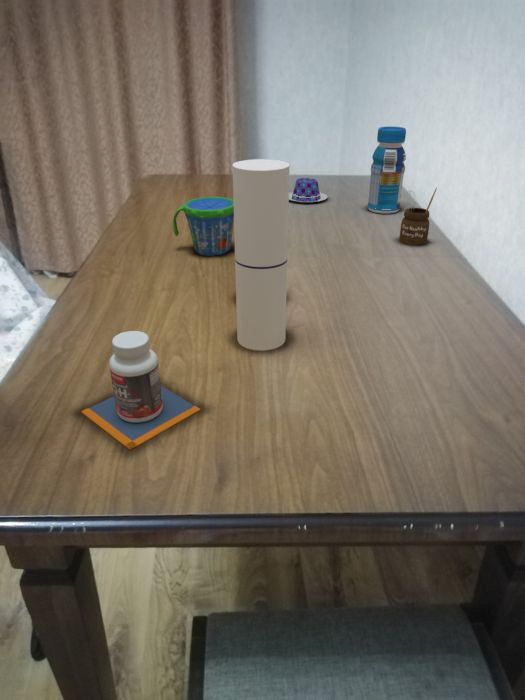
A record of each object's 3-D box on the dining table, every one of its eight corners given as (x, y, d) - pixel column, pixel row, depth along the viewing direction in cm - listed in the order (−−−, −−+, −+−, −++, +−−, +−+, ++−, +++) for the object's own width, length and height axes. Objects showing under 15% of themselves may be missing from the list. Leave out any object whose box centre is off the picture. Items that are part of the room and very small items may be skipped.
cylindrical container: (230, 347, 78) (224, 168, 65) (246, 325, 84) (243, 157, 71) (278, 354, 76) (280, 172, 63) (290, 331, 82) (295, 160, 69)
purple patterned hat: (306, 207, 143) (307, 187, 141) (275, 198, 151) (275, 179, 148) (336, 199, 150) (337, 180, 148) (305, 191, 158) (305, 173, 155)
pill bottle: (111, 423, 62) (97, 349, 57) (125, 396, 66) (114, 326, 62) (157, 425, 61) (147, 351, 57) (168, 398, 66) (160, 328, 61)
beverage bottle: (360, 209, 141) (367, 128, 131) (380, 204, 146) (388, 124, 136) (386, 216, 136) (396, 131, 126) (406, 210, 140) (417, 128, 130)
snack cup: (169, 258, 110) (164, 208, 105) (183, 241, 119) (179, 195, 114) (244, 262, 108) (243, 211, 103) (253, 245, 117) (252, 197, 112)
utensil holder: (400, 236, 121) (407, 182, 115) (429, 239, 120) (437, 184, 114) (397, 245, 117) (404, 188, 111) (426, 248, 115) (435, 191, 109)
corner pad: (81, 413, 64) (81, 411, 64) (150, 380, 70) (149, 377, 70) (130, 452, 58) (130, 449, 58) (200, 411, 64) (200, 409, 64)
